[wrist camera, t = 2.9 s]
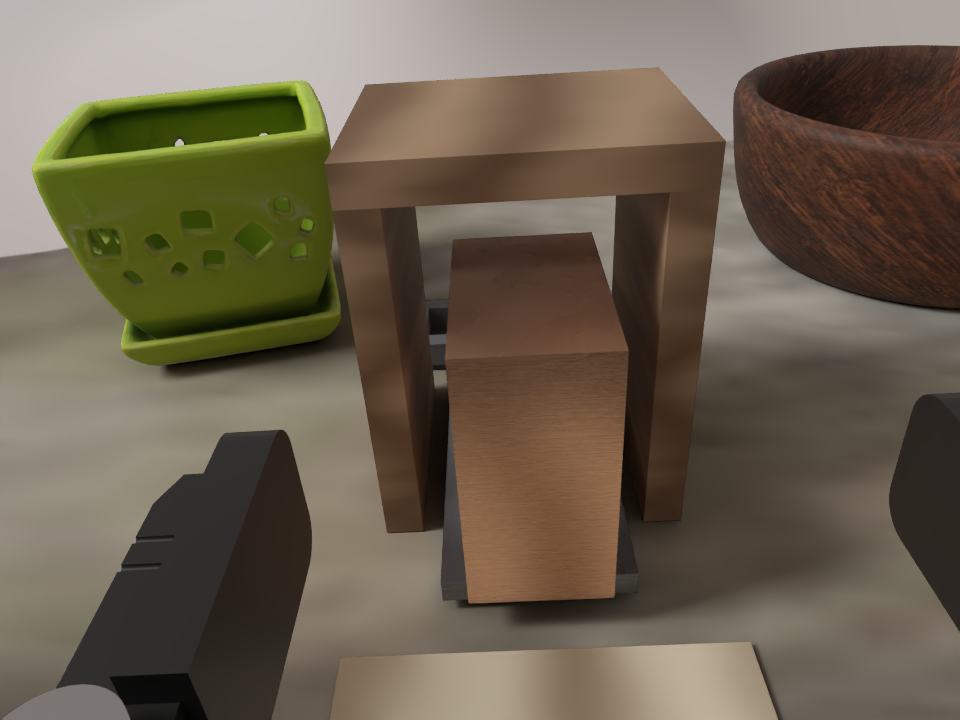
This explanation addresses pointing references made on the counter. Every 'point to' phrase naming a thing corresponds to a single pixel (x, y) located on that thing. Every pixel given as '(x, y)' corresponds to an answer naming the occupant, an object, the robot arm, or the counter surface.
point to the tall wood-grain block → (534, 424)
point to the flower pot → (200, 217)
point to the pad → (557, 685)
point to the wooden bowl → (857, 168)
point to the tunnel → (516, 177)
